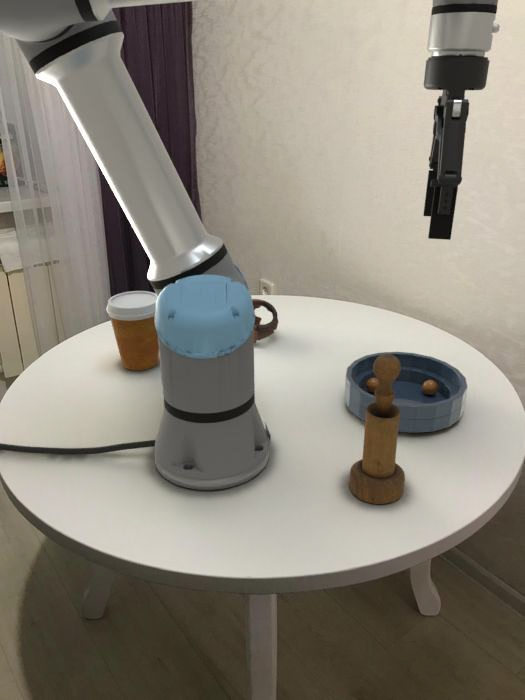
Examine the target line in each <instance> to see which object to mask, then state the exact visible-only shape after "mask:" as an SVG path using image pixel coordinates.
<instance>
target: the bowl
mask: <svg viewBox="0 0 525 700" xmlns="http://www.w3.org/2000/svg"><path fill="white" fill-rule="evenodd" d="M383 354H391V355H393V356H395V357H396V358H397V359H398V360H399V362H400V364H401V371H400V374H399V375H398V377H397V378H396V379H395V381H394V382H393V383H392V389H393V390H394V391H395V396H394V399H393V402H392V404H393V405H395V406H397V407H398V408H399V410H400V418H399V427H398V433H399V432H400V433H412V434H415V433H430V432H435V431H439V430H443V429H446V428H449V427H451V426H453V425H454V424H456V423H458V422H459V420H460V419H461V417H462V415H463V413H464V410H465V405H466V397H467V393H468V383H467V378H466V376H465V375H464V374H463V373H462V372H461V371H460V370H459V369H458V368H457V367H455V366H453V365H451V364H450V363H448V362H446V361H444V360H441V359H439V358H436V357H434V356H428V355H424V354H419V353H415V352H408V351H407V352H406V351H405V352H404V351H385V352H384V351H383V352H376V353H371V354H366V355H364V356H362V357H359V358H358V359H356V360H354V361H353V362H351V364H350V365H349V366H347V367H346V373H345V385H344V386H345V387H344V402H345V404H346V406H347V408H348V410H349V411H350V412H351V413H352V414H353V415H355V416H356V417H357V418H358V419H360V420H362V421H364V422H365V418H366V407H367V406H368V405H369V404H371V403H374V402H376V399H375V393H371V392H369V391H368V390H367V388H366V382H367V381H368V379H370V378H376V376H375V374H374V371H373V365H374V362H375V360H376V359H377V358H378V357H379V356H380V355H383ZM427 380H433V381H435V382H436V383H437V385H438V390H437V392H436V393H435V394H433V395H427V394H425V393H424V392H423V390H422V385H423V383H424V382H425V381H427ZM407 403H411V404H407Z"/></svg>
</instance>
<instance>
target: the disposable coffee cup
mask: <svg viewBox="0 0 525 700" xmlns="http://www.w3.org/2000/svg"><path fill="white" fill-rule="evenodd" d="M157 298H158V296H157V294H156V292H152V291H147V290H133V291H124V292H121V293H117V294H115V295H113V296H110V297H109V298H108V300H107V305H106V307H105V311H106V312H107V314H108V316H109V318H110V322H111V326H112V330H113V333H114V334H113V335H114V337H115V341H116V345H117V348H118V352H119V353H118V354H119V356H120V360H121V364H122V367H123V368H125V369H127V370H130V371H144V370H149V369H151V368H154V367H156V366H157V365H158V363H159V362H160V355H159V344H158V334H157V330H156V327H155V312H156V301H157Z"/></svg>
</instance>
